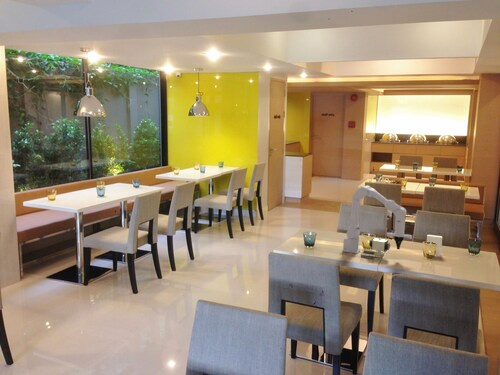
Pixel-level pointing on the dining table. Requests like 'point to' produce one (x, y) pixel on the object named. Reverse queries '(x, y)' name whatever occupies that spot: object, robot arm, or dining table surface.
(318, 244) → the dining table surface
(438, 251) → the base with upright slab
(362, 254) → the guide rails
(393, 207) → the robot arm
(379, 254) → the pneumatic valve
